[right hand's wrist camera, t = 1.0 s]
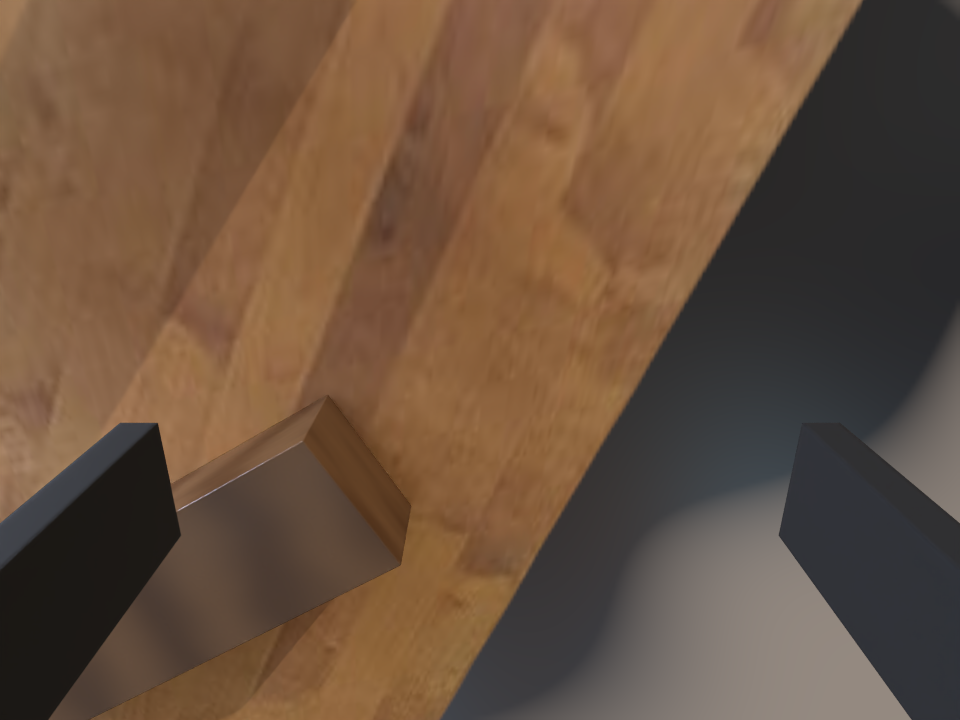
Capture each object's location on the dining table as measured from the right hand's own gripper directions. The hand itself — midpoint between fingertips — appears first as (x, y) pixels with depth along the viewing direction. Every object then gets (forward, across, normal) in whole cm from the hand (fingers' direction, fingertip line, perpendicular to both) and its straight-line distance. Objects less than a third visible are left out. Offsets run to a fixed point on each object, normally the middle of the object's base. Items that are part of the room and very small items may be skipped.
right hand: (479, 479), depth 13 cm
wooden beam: (+27, -38, -32) cm, 56 cm away
